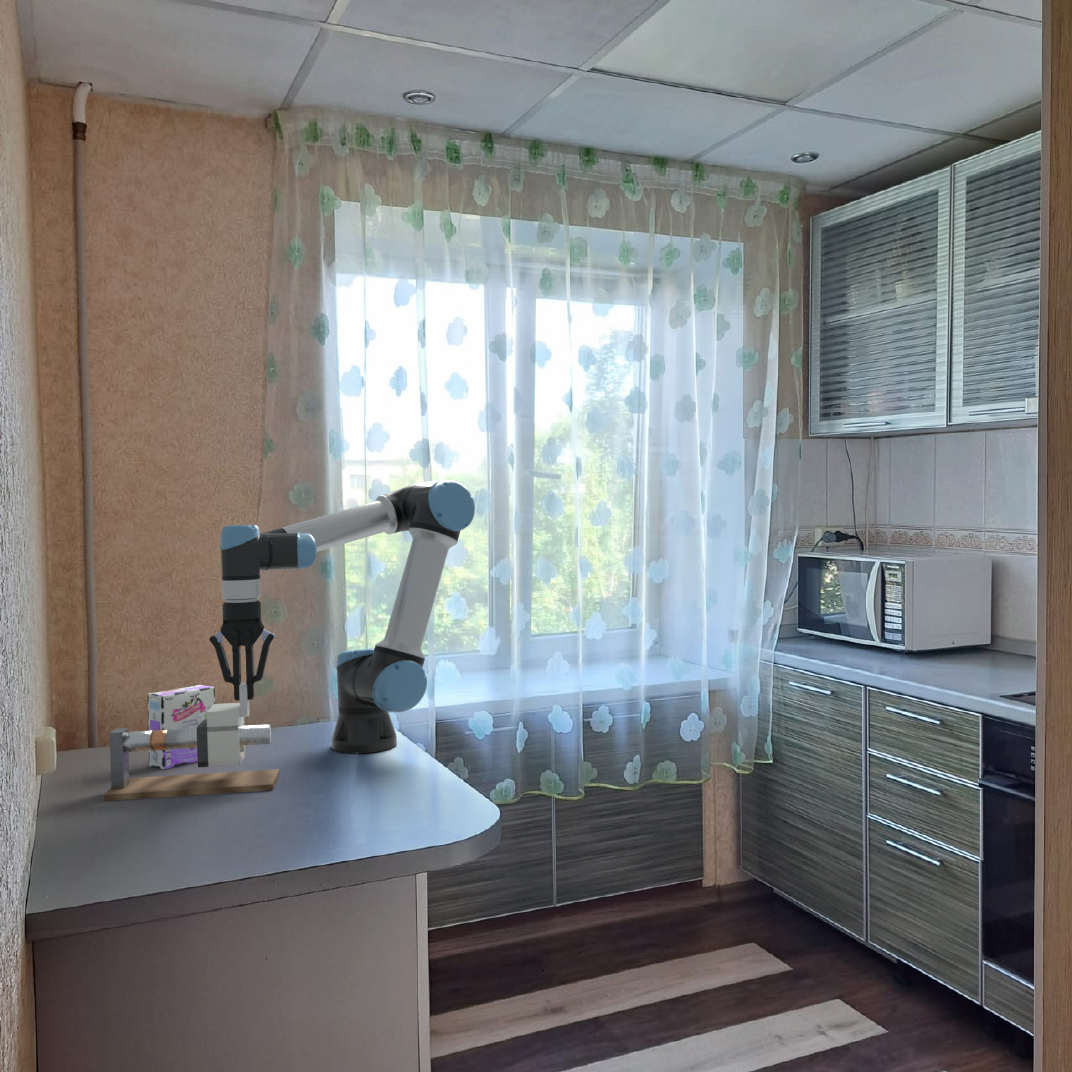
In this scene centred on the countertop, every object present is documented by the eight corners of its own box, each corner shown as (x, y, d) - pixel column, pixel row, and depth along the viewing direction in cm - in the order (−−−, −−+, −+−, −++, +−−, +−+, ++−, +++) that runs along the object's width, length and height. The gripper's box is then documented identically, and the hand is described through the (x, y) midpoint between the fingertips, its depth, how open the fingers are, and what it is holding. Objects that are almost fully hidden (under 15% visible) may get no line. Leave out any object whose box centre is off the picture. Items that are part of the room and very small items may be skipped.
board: (279, 774, 206) (279, 769, 206) (272, 790, 194) (272, 784, 194) (120, 784, 201) (120, 778, 201) (103, 800, 189) (103, 794, 189)
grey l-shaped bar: (272, 774, 202) (270, 720, 202) (269, 779, 198) (268, 724, 198) (117, 783, 197) (115, 728, 197) (111, 789, 193) (109, 732, 193)
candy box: (163, 770, 212) (160, 695, 212) (148, 766, 216) (145, 692, 215) (218, 757, 223) (215, 685, 223) (202, 753, 227) (200, 683, 226)
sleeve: (245, 754, 203) (243, 702, 203) (239, 765, 195) (237, 710, 195) (215, 756, 202) (213, 704, 202) (208, 766, 194) (206, 712, 194)
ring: (215, 757, 202) (214, 718, 202) (208, 766, 194) (206, 726, 194) (205, 757, 202) (204, 719, 202) (197, 767, 194) (196, 727, 194)
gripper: (276, 598, 203) (279, 710, 203) (211, 600, 201) (214, 714, 201) (272, 600, 196) (275, 717, 196) (204, 603, 194) (208, 721, 194)
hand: (244, 715), depth 199 cm, fingers closed
